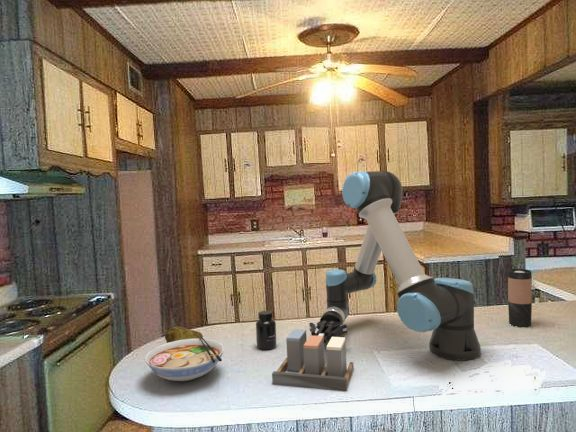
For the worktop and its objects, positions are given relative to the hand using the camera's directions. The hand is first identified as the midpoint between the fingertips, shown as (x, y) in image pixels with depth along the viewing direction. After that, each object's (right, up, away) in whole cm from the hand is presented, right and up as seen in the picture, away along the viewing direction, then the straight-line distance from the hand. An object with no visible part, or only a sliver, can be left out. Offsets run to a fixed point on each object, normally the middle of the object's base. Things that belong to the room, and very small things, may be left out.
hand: (317, 345), depth 128 cm
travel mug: (+77, -2, +30) cm, 82 cm away
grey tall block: (+5, -7, -6) cm, 11 cm away
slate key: (-6, -7, +3) cm, 9 cm away
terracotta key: (-1, -7, -4) cm, 8 cm away
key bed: (-1, -7, -5) cm, 9 cm away
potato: (-44, -8, +22) cm, 50 cm away
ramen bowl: (-39, -9, -1) cm, 40 cm away
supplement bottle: (-16, -7, +20) cm, 26 cm away
